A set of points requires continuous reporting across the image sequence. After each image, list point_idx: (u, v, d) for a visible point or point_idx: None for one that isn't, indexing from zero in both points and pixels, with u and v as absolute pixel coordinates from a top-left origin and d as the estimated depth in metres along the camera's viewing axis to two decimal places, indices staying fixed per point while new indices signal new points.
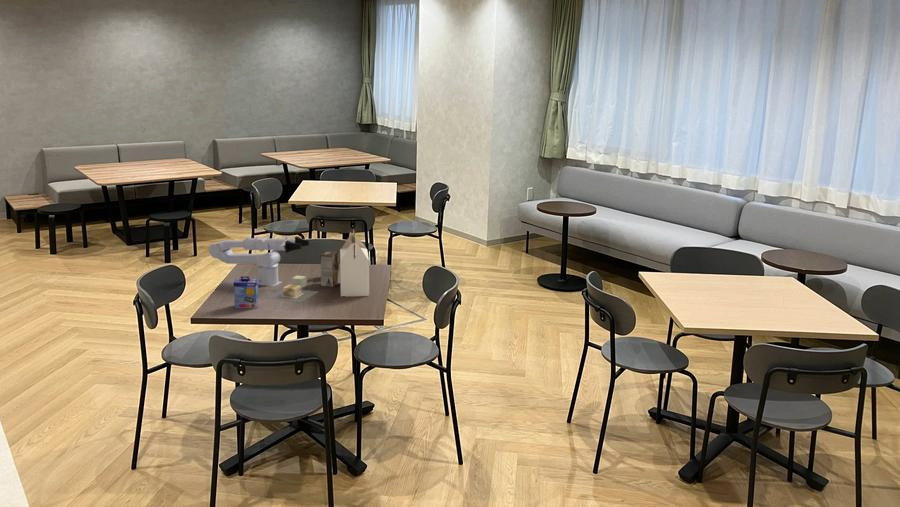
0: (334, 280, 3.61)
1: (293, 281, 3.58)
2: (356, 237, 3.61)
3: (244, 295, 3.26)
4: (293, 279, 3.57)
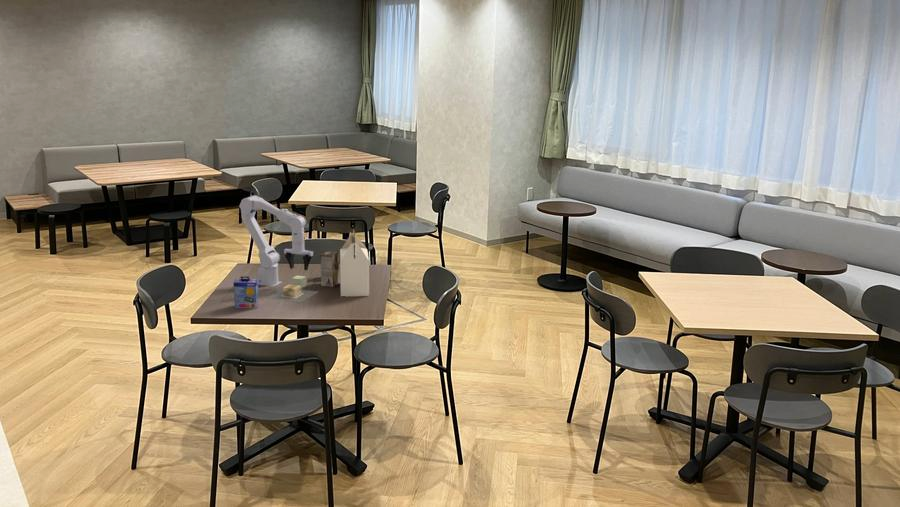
0: (334, 280, 3.61)
1: (293, 281, 3.58)
2: (356, 237, 3.61)
3: (244, 295, 3.26)
4: (293, 279, 3.57)
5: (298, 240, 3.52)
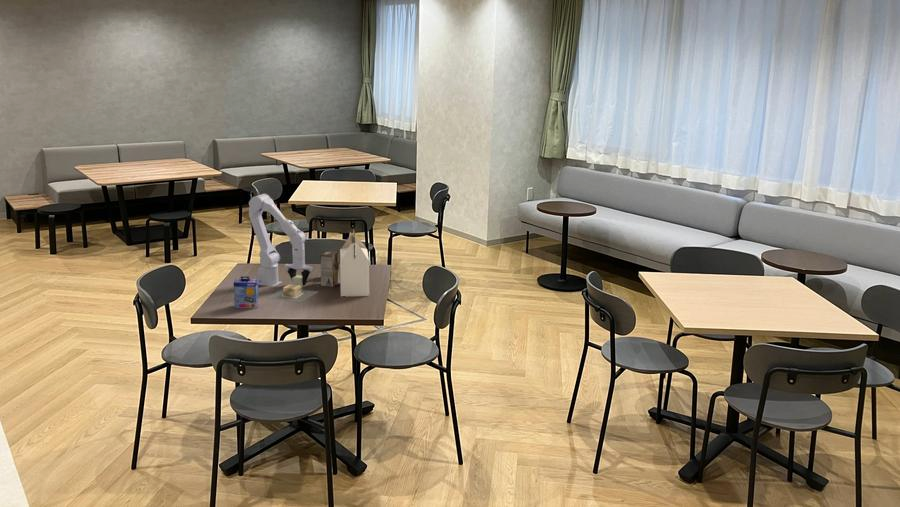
0: (334, 280, 3.61)
1: (293, 281, 3.58)
2: (356, 237, 3.61)
3: (244, 295, 3.26)
4: (293, 279, 3.57)
5: (298, 256, 3.53)
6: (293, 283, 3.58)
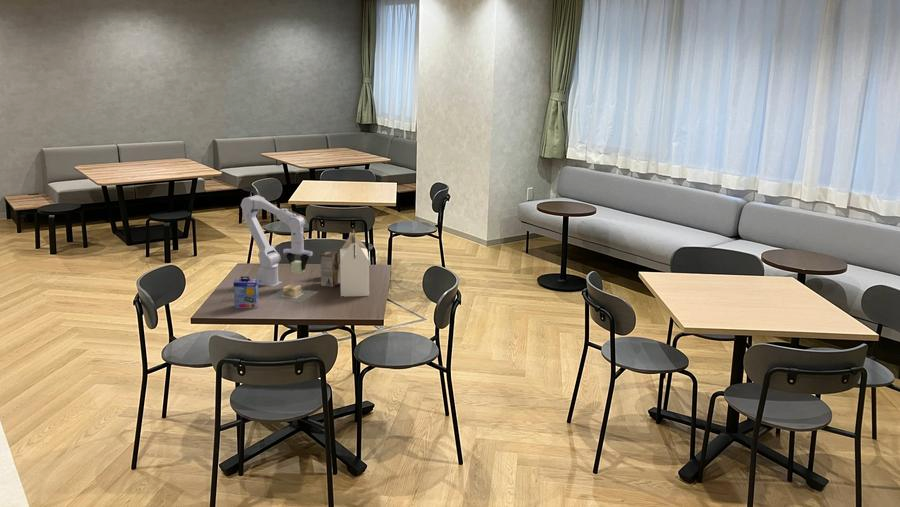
0: (334, 280, 3.61)
1: (292, 266, 3.54)
2: (356, 237, 3.61)
3: (244, 295, 3.26)
4: (292, 264, 3.54)
5: (297, 240, 3.50)
6: (292, 268, 3.54)
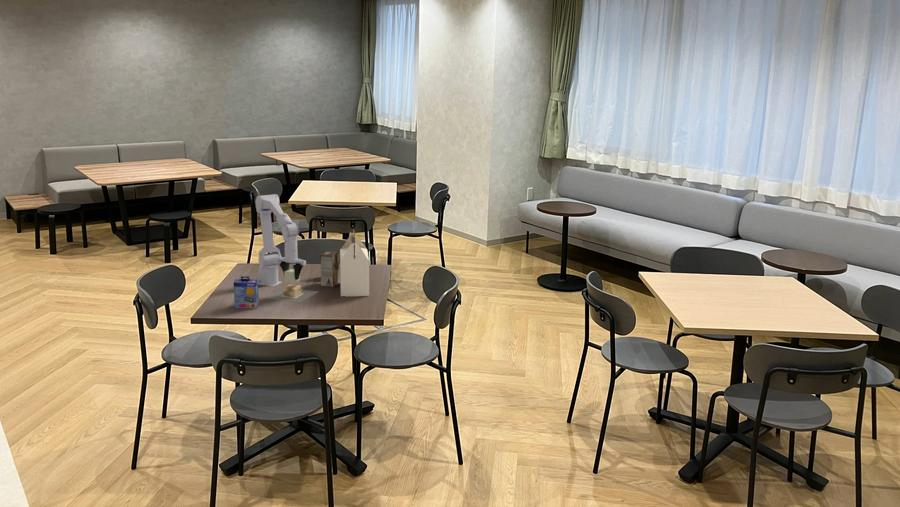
0: (334, 280, 3.61)
1: (285, 275, 3.42)
2: (356, 237, 3.61)
3: (244, 295, 3.26)
4: (285, 272, 3.42)
5: (287, 248, 3.38)
6: (285, 277, 3.42)
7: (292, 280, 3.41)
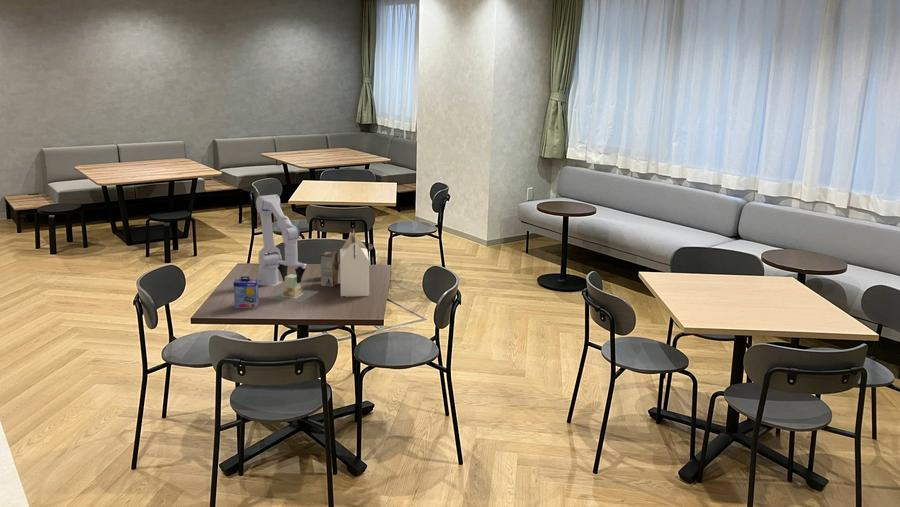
0: (334, 280, 3.61)
1: (286, 280, 3.43)
2: (356, 237, 3.61)
3: (244, 295, 3.26)
4: (286, 278, 3.42)
5: (287, 251, 3.38)
6: (286, 282, 3.43)
7: (292, 285, 3.42)
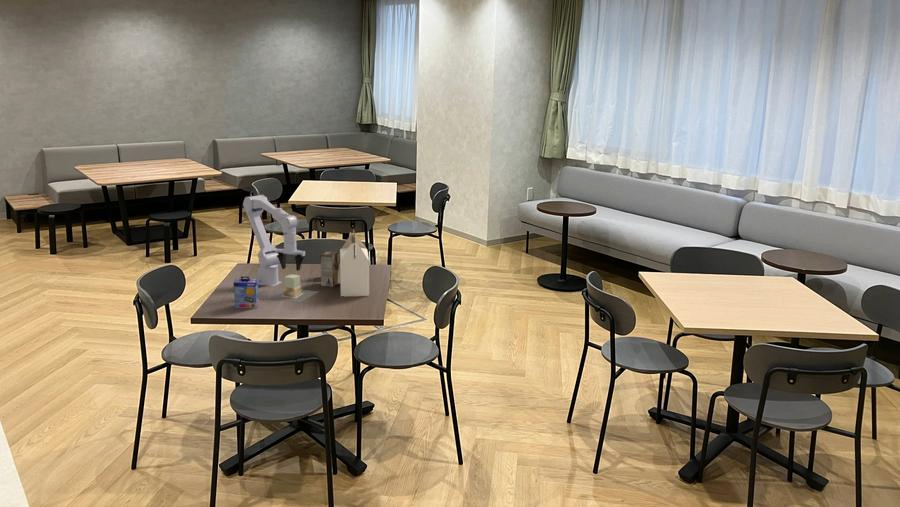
0: (334, 280, 3.61)
1: (286, 280, 3.43)
2: (356, 237, 3.61)
3: (244, 295, 3.26)
4: (286, 278, 3.42)
5: (287, 240, 3.46)
6: (286, 282, 3.43)
7: (292, 285, 3.42)
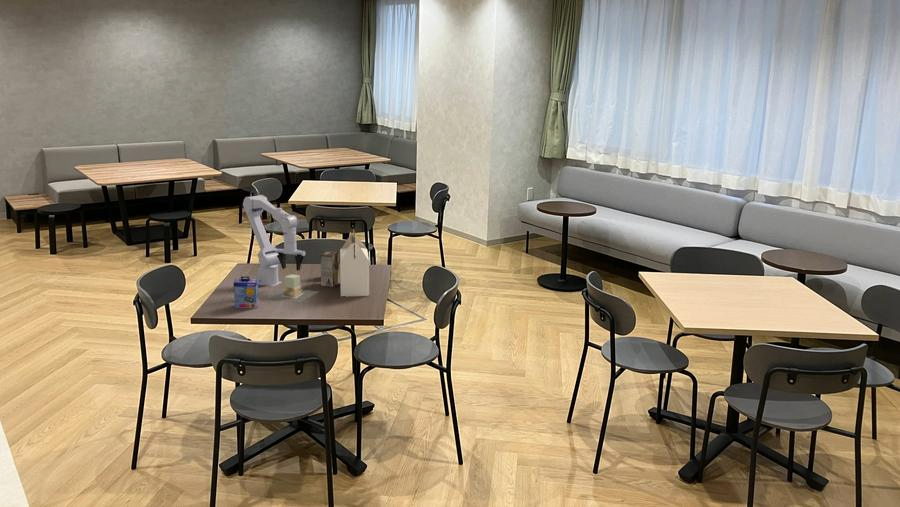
0: (334, 280, 3.61)
1: (286, 280, 3.43)
2: (356, 237, 3.61)
3: (244, 295, 3.26)
4: (286, 278, 3.42)
5: (287, 240, 3.46)
6: (286, 282, 3.43)
7: (292, 285, 3.42)
